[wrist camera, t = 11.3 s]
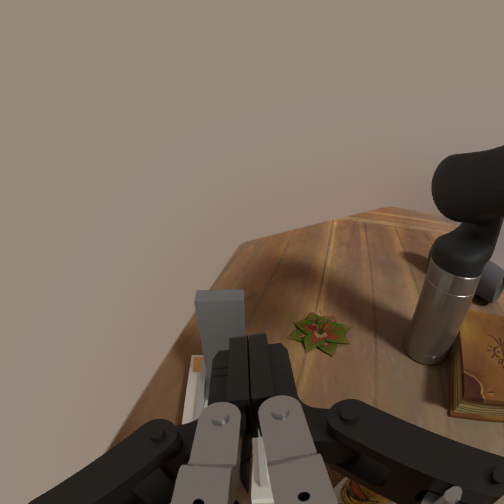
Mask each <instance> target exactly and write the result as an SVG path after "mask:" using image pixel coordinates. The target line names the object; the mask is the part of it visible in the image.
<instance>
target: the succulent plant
mask: <svg viewBox="0 0 504 504" xmlns="http://www.w3.org/2000/svg"><path fill="white" fill-rule="evenodd" d="M319 310H320V309H319ZM320 313H321V312H320ZM333 317H334V316H332V315H331V316H329V317H328V316H324V317H320V316H319V315H316V314H314V313H313V312H312V313H310V315H309V316H308V318H307V320H301V321H298V322H293V323H294V324H296V325H297V326H298V327H299V328H300V329H299V330H297V331H295V332H293V333H292V334H291V336H290V337H288V338H290V339H295V340H298V341H303V342H304V343H305V348H306V350H305V353H306V352H307V351H309V350H311V349H312V348H315V347H317V346H318V347H319V348H320V349H321V350H323V351H324V352H326V353H328V354H330V355H331V356H332V357H333V355H334V351H335V350H336V347H337V344H336V342H337V343H347V344H350V343H349V341H348V340H347V339H346V336H345V335H344V334H345V333H346V332H347V331H348V330H350V328H352V327H350V326H345V325H344V324H336V319H335V318H333ZM314 321H316V322H317V324H316V323H315V322H314ZM323 329H324V330H323ZM314 330H319V331H320V334H321V335H322V334H323V333H324V332H325V331H326V333H327V335H328V336H327V337H323V338H317V337H316V336H315V334H314ZM304 333H307V334H308V335H306V336H305V338H303V337H299V336H302V335H303V334H304ZM325 340H326V341H329V342H328V345H327V346H325V345H324V344H323V343H324V342H325Z"/></svg>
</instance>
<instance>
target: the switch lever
mask: <svg viewBox="0 0 504 504" xmlns="http://www.w3.org/2000/svg"><path fill="white" fill-rule="evenodd" d="M194 302H195V309H196V315H197V321H198V328H199V334H200V339H201V345H202V351H203V356H204V362H205V367H206V372H207V383H206V399H207V400H208V396H209V387H210V378H211V370H212V360H213V358H214V357H215V355H216V354H217V352H218V351H222V350H229V339H230V338H231V337H239V336H246V334H245V308H244V289H239V290H207V291H206V290H205V291H204V290H203V291H197V292H196V296H195V301H194Z"/></svg>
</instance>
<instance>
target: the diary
mask: <svg viewBox="0 0 504 504" xmlns="http://www.w3.org/2000/svg"><path fill="white" fill-rule="evenodd" d="M449 351H450V409H449V417H455V418H462V419H470V420H479V421H490V422H502V423H504V317H503V316H498V315H494V314H489V313H484V312H480V311H475V310H471V309H468V312H467V314H466V317H465V319H464V321H463V323H462V326H461V328H460V330H459V332H458V334H457V336H456V339H455V341H454V343H453V344H452V346H451V348H450V350H449Z"/></svg>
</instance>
